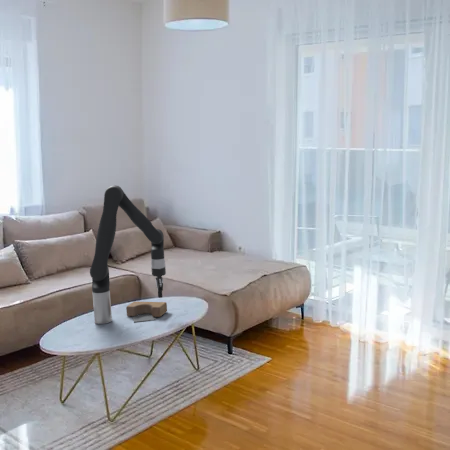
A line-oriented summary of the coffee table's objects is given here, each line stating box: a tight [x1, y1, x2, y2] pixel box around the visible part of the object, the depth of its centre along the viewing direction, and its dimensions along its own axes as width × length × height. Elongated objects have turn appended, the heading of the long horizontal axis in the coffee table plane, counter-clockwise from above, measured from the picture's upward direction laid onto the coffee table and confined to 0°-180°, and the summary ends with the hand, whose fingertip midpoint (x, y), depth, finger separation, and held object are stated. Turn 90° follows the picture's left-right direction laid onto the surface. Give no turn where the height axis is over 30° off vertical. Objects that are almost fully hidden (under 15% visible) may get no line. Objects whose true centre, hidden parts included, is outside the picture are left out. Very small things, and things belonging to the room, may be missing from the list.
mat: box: [132, 314, 157, 324], centre depth 327 cm, size 12×11×1 cm
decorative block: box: [125, 301, 168, 318], centre depth 332 cm, size 11×6×20 cm
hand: (160, 297), depth 323 cm, fingers closed
